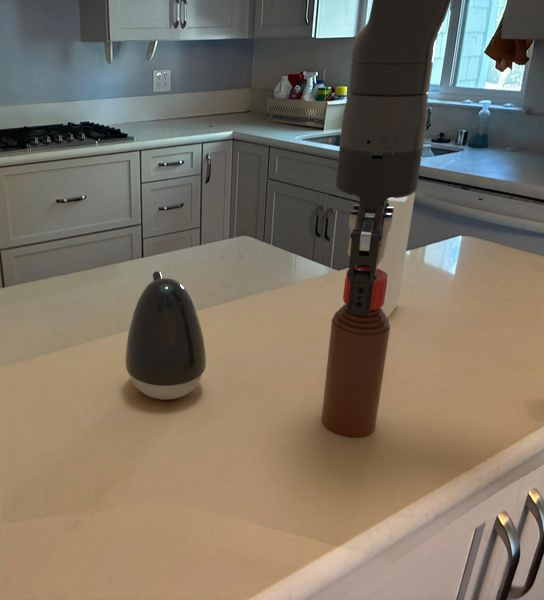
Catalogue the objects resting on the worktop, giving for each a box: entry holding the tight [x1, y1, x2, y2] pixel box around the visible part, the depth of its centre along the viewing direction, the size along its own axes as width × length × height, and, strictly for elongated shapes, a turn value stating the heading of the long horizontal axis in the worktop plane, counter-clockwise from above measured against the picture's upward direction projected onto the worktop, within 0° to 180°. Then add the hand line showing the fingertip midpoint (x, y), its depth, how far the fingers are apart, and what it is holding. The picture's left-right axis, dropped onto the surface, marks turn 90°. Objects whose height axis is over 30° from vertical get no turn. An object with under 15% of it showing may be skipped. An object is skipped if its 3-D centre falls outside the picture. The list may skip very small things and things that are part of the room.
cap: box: [342, 267, 388, 310], centre depth 65 cm, size 4×4×3 cm
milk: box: [377, 191, 416, 319], centre depth 96 cm, size 6×6×22 cm
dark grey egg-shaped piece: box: [124, 270, 207, 401], centre depth 76 cm, size 10×10×15 cm
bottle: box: [321, 303, 391, 438], centre depth 68 cm, size 6×6×18 cm
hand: (360, 304), depth 66 cm, fingers closed on cap, 4 cm apart
